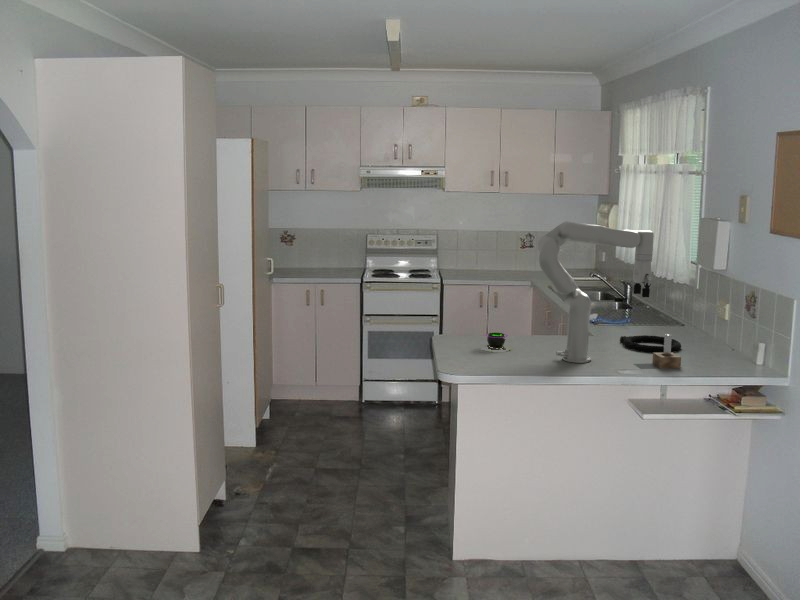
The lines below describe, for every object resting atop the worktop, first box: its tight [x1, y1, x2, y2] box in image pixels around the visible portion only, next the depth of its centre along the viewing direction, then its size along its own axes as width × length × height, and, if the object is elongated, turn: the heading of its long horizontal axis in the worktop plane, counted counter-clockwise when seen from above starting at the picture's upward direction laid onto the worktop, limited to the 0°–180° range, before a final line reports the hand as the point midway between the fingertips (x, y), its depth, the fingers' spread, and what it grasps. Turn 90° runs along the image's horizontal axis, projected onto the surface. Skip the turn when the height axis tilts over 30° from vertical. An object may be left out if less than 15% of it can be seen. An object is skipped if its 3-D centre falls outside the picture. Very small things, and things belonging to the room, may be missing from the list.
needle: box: [663, 333, 673, 356], centre depth 348 cm, size 3×3×14 cm
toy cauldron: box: [484, 326, 509, 350], centre depth 380 cm, size 15×15×11 cm
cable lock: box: [619, 334, 682, 354], centre depth 389 cm, size 28×4×30 cm
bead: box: [651, 352, 682, 369], centre depth 349 cm, size 9×9×5 cm
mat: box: [633, 363, 683, 370], centre depth 349 cm, size 19×9×1 cm, turn 95°
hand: (641, 295), depth 356 cm, fingers open, 9 cm apart
